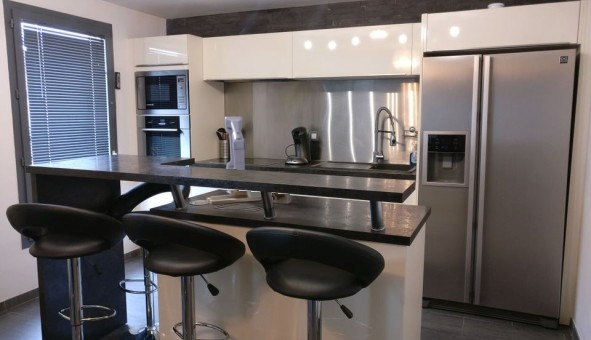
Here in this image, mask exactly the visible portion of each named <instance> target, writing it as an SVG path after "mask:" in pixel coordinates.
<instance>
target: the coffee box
mask: <svg viewBox="0 0 591 340" xmlns="http://www.w3.org/2000/svg"><path fill="white" fill-rule="evenodd" d="M273 172H280V173H291V174H292V172H291V171H283V170H281V171H280V170H275V171H273ZM271 194H272V195H271V197H273V201H274V203H273V204H286V205H287V204H290V203H291V200H292V199H291V197H292V194H291V195H290V194H278V193H272V192H271Z"/></svg>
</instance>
